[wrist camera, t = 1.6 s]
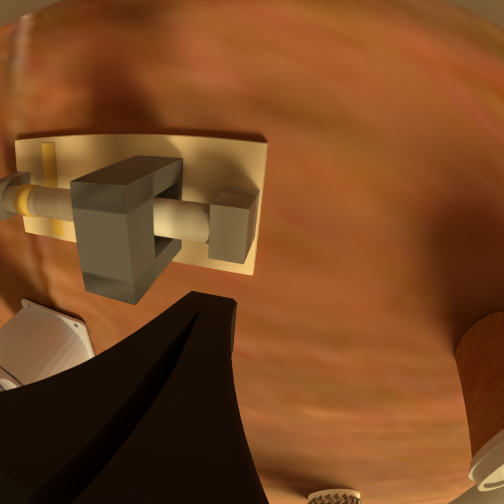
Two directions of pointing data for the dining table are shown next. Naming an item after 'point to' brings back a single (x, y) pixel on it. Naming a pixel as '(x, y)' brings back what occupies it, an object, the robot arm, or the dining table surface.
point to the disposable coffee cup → (484, 397)
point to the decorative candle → (335, 497)
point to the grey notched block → (124, 225)
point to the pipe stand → (164, 210)
